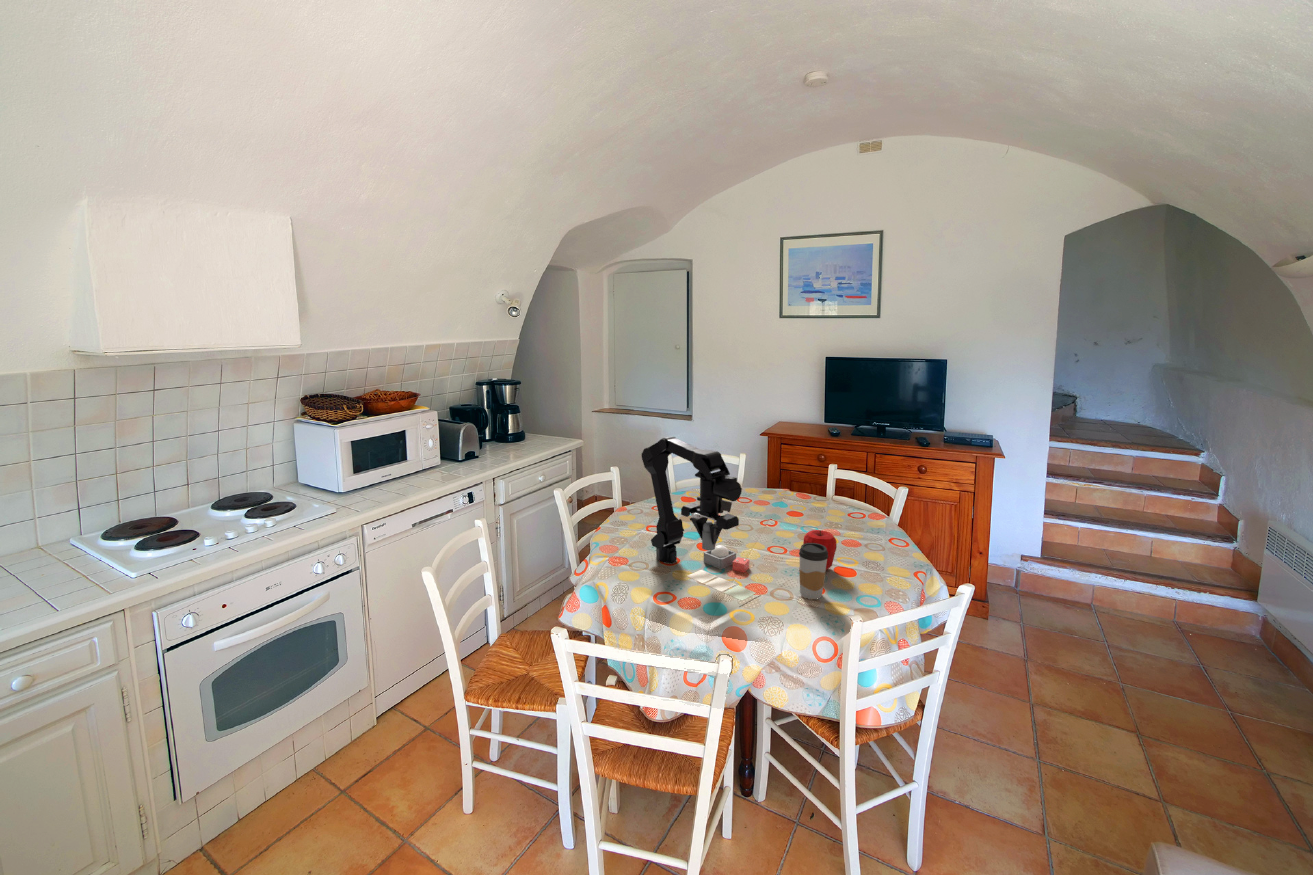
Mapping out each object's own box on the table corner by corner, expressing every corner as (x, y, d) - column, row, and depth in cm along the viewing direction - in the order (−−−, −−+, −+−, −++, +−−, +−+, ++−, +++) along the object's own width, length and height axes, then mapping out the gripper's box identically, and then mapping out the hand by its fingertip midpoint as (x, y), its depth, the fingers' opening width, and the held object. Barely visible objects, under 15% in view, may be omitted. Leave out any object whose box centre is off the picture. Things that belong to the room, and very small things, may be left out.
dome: (706, 562, 199) (707, 545, 197) (718, 557, 203) (719, 540, 201) (720, 568, 194) (721, 551, 193) (732, 563, 198) (733, 545, 197)
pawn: (699, 547, 184) (699, 522, 182) (708, 544, 187) (708, 518, 185) (709, 551, 181) (709, 525, 180) (717, 547, 184) (718, 522, 182)
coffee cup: (820, 588, 183) (823, 541, 180) (829, 601, 175) (832, 553, 172) (793, 588, 183) (795, 542, 179) (800, 601, 175) (803, 553, 171)
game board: (681, 580, 188) (681, 576, 188) (703, 570, 195) (703, 567, 194) (739, 607, 172) (739, 603, 172) (761, 595, 179) (761, 591, 178)
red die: (732, 573, 193) (732, 560, 192) (737, 568, 196) (737, 555, 195) (744, 575, 191) (744, 563, 190) (748, 571, 194) (749, 558, 193)
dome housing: (702, 565, 199) (703, 552, 198) (718, 558, 204) (718, 545, 203) (721, 572, 193) (721, 559, 192) (736, 565, 199) (736, 552, 198)
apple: (835, 577, 190) (838, 537, 187) (802, 574, 192) (804, 534, 189) (833, 563, 200) (835, 525, 197) (801, 561, 202) (803, 522, 199)
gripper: (751, 494, 179) (749, 543, 183) (704, 481, 192) (703, 527, 196) (726, 502, 172) (725, 553, 175) (679, 488, 185) (679, 536, 188)
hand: (708, 542), depth 184 cm, fingers closed on pawn, 4 cm apart
